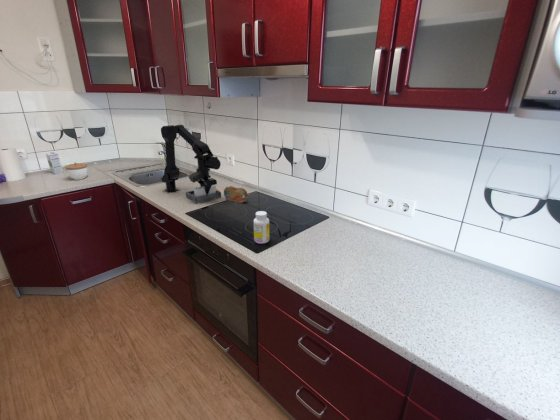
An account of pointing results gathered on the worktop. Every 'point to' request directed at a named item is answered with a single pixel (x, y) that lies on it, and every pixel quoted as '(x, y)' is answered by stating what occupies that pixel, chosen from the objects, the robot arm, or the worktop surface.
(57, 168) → the syrup box
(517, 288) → the worktop surface
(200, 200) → the box
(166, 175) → the robot arm
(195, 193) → the panel
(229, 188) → the tin
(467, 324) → the worktop surface
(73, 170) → the lidded bowl
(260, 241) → the supplement bottle
